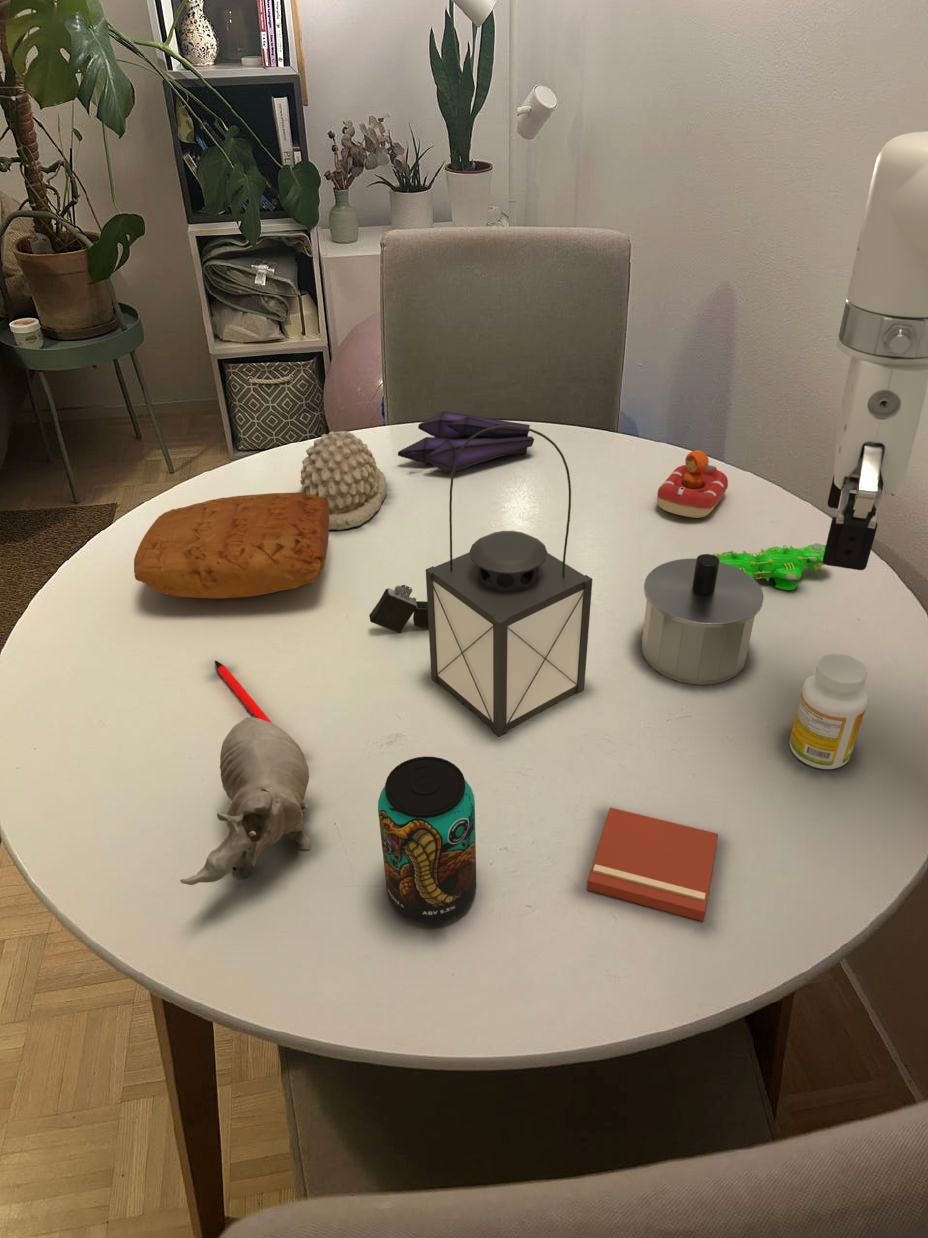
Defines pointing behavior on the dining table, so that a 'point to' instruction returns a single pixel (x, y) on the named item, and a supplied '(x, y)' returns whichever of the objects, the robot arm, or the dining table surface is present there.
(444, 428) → the crystal
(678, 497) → the toy boat
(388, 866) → the beverage can
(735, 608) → the pot lid
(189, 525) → the cuneiform tablet
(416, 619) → the lighter
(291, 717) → the dining table surface
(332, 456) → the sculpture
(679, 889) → the book
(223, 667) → the pen
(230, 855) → the grey rounded figure
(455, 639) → the lantern
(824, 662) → the supplement bottle
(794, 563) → the green elongated plastic piece
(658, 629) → the pot
